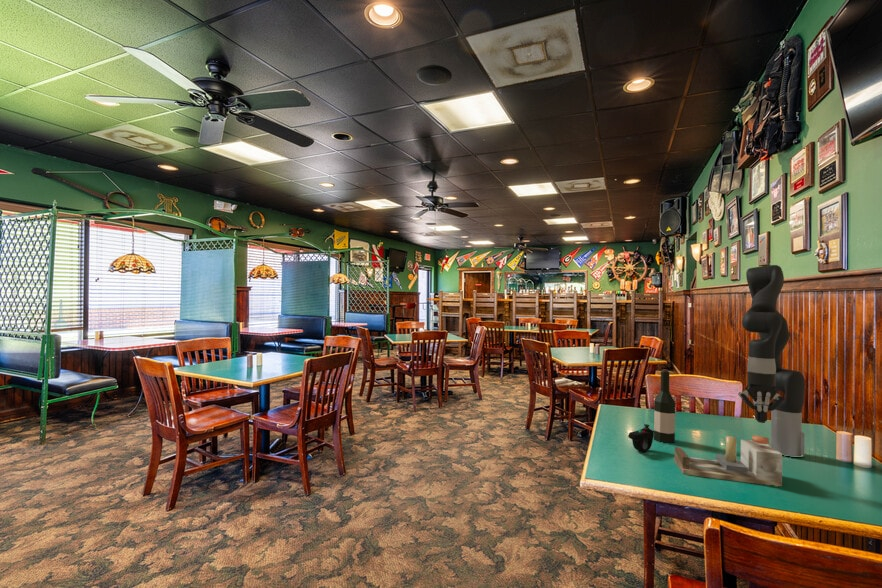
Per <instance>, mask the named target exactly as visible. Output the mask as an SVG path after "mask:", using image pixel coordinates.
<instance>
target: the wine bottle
mask: <svg viewBox="0 0 882 588" xmlns="http://www.w3.org/2000/svg"><path fill="white" fill-rule="evenodd" d="M653 404H654V405H653V407H654V409H653V410H654V413H653V414H654V417H653V420H654V421H653V426H654V427H653V431H654V436H653V440H654V441H655V440H656V441H655V442H658V441H659V442H658V443H660V442H663V443H662V444H666V443H673V444H675V442H676V400H675V399H674V397H673V396H672V393H670V371H669V370H668V369H664V368H663V369H662V370H661V371H660V391H659V392H658V393H657V395H656V396H655V398H654V403H653Z"/></svg>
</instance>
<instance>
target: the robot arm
mask: <svg viewBox="0 0 882 588" xmlns="http://www.w3.org/2000/svg"><path fill="white" fill-rule="evenodd" d="M745 275H746V283H747V286H748V289H749V293H750V297H751V304H750V307H749V308H748V310H747V311H746V312H745V313H744V315H743V317H742V320H741V326H742V328H743V329H744V330H745V331H747V332H749V333H756V334H757V333H758V334H759V338H758V339H751V340H749V342H748V359H747V365H746V366H747V369H746V370H747V374H746V375H747V379H746V380H747V381H746V383H747V385H746V386H745V390H744V391H742V392H738V396H739V398H741V400H742V401H743V402H744V403H745V405H746V406H747V407H748V408H750V409H751V410H754V419H755V420H756V422H758V423H761V424H765V423H766V422H767V420H768V417H767V416H768V412H770V446H771V447H773V448H774V449H775V450H777V451H778V452H780V453H781V454H782V455H789V456H801V455H803V456H804V457H805V432H804V431H802V430H803V426H802V424H803V422H802V421H803V419H802V418H803V416H802V415H803V414H802V413H803V407H804V404H805V390H806V378H805V376H804V374H803V373H802V372H800V371H798V370H793V369H787V368H783V367H782V364H781V355H782V353H783V351H784V349H785V348H786V346H787V344H788V342H789V339H790V332H789V325H788V322H787V319H786V318H785V316H783V315H782V314H781V313H780V312H779V311H778V310H777V302H778V297H779V296H780V293H781V292H782V289H783V287H784V283H785V279H784V278H785V276H784V271H783V270H782V267H781V266H780V265H777V264H769V265H763V266H755V267H750V268H749V267H748V268H747V270H746V274H745ZM778 392H781V393H785V394H784V396H782V395H780V394H779V393H778ZM750 398H751V399H752V401H751V400H750Z"/></svg>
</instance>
